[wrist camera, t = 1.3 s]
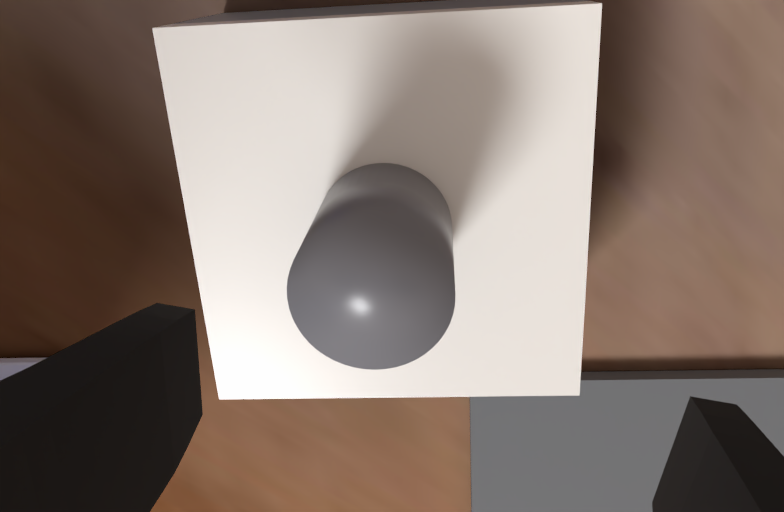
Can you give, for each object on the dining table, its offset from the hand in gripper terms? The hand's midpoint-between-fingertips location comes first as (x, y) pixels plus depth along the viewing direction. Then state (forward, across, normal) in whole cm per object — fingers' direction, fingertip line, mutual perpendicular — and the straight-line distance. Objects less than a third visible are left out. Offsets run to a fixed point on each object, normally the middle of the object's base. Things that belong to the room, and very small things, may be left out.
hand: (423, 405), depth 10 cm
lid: (+8, +2, 0) cm, 8 cm away
